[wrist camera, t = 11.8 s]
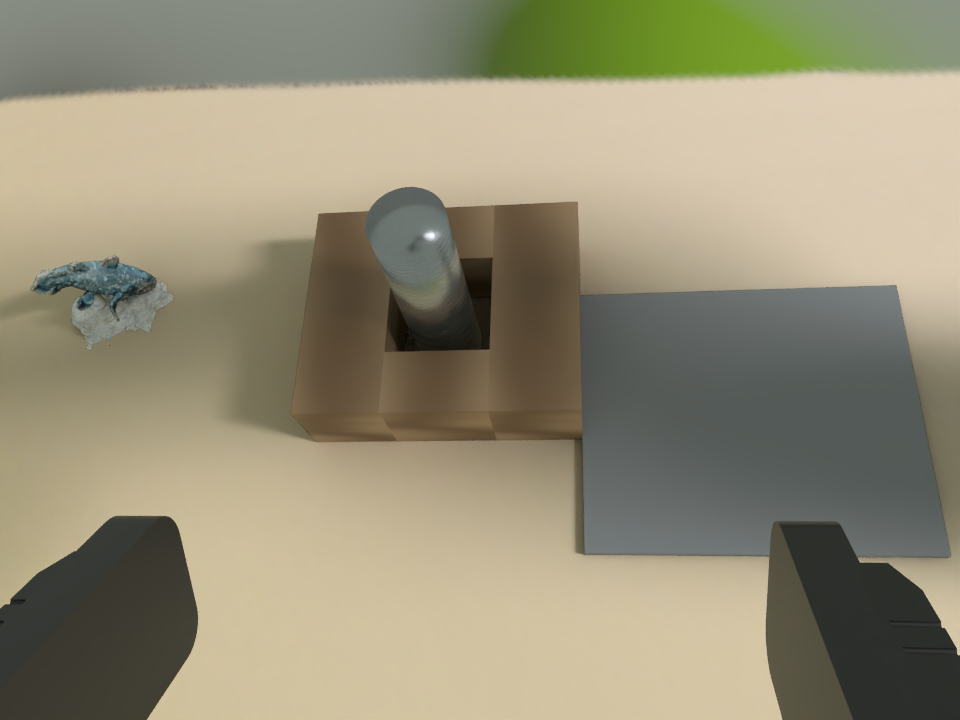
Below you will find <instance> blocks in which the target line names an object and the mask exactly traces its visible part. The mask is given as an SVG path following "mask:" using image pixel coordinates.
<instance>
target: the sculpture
mask: <svg viewBox="0 0 960 720" xmlns="http://www.w3.org/2000/svg"><path fill="white" fill-rule="evenodd" d="M118 263H119V258H118V257H117V256H115V255H114V256H111V257H107V258H106V259H105V260H103V261H89V262H80V263H79V262H74V263H73V262H72V263H70V265H66V266H65V265H64V266H62V267H59V268H56V269H53V270H49V269H48V270H47V269H46V270H42V271H41V272H40V274H38V275H37V277H36V279H35V282H34V283H33V286H31V287H30V290H31V291H36V292H37V293H40V294H41V293H42V294H43V293H44V294H45V292H47V291H49V290H50V289H51V290H50V295H54V294H56V293H57V292H59V291H60V290H61V289H62V288H65V287H69V286H73V287H75V288H79V289H82V290H86V291H87V292H85V293H84V295H83V296H80V297H79V298H77V299H76V300H75V302H74V303H73V306H72V308H71V312H72V313H71V314H72V315H71V320H72V323H73V326H75V327H76V328H78V329H80V330H81V333H82V334H84V339H85V341H86V342H87V344H91V345H88V346H87V348H86V349H89V350H90V349H92V344H95V343H96V344H97V343H98V342H99V341H101V340H103V339H106V340H107V339H109V340H110V338H112V337H113V336H114V335H118V333H119V332H121V331H123V330H124V329H125V328H126V327H127V329H126V331H128V329H132V330H133V331H134V330H135V331H136V330H137V328H141V329H142V330H145V332H147V333H148V332H150V331H151V324H152V323H151V322H153V320H154V319H155V313H154V312H155V311H156V309H157V310H158V309H159V307H160V308H163V307H164V306H165V305H167V304H168V303H169V302H170V301H171V300H172V299H174V298H173V296H172V294H170V293H169V294H168V293H167V289H166V286H167V285H166V284H163V283H162V281H160V280H158V281H157V280H156V278H154V277H153V276H151V275H150V274H148V273H147V272H146V271H143V270H139V268H137V267H132V266H129V265H124V264H120V263H119V264H118ZM134 325H136V327H134ZM132 330H131V331H132ZM109 346H110V345H109Z"/></svg>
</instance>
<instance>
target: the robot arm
mask: <svg viewBox="0 0 960 720" xmlns="http://www.w3.org/2000/svg"><path fill="white" fill-rule="evenodd" d="M197 626H198V612H197V606H196V602H195V597H194V593H193V589H192V584H191V580H190V576H189V571H188V567H187V563H186V558H185V554H184V550H183V546H182V541H181V537H180V533H179V530H178V527H177V525H176V523H175V522H174V520H172V519H171V518H170V517H167V516H115V517H112V518H110V519H109V520H108V521H107V522H105V523H104V524H103V525H102V526H101V527H100V528H99V529H98V530H97V531H96V532H95V533H94V534H93V535H92V536H91V537H90V538H89V539H88V540H87V541H86V542H85V543H84V544H83V545H82V546H81V547H80V548H79V549H78V550H77V551H74V552H73V553H71V554H69V555H68V556H66V557H64V558H63V559H61V560H59V561H58V562H56V563H54V564H53V565H51V566H49V567H48V568H46V569H44V570H43V571H41V572H39V573H38V574H36V575H35V576H34V577H33V578H32V579H31V580H30V581H29V582H28V583H27V584H26V585H25V586H24V587H23V588H22V589H21V590H20V591H19V592H18V593H17V594H15V595H14V596H13V597H12V598H11V602H10V604H5V605H4V606H3V607H2V608H1V609H0V720H147V718H148V717H149V715H150V714H151V712H152V711H153V709H154V708H155V706H156V705H157V703H158V702H159V700H160V699H161V697H162V696H163V694H164V693H165V691H166V690H167V688H168V687H169V685H170V684H171V682H172V681H173V679H174V678H175V676H176V675H177V673H178V672H179V670H180V669H181V667H182V666H183V664H184V663H185V661H186V660H187V658H188V656H189V655H190V653H191V650H192V648H193V645H194V642H195V638H196V634H197ZM766 646H767V656H768V663H769V669H770V674H771V678H772V682H773V686H774V689H775V693H776V697H777V700H778V704H779V708H780V711H781V715H782V719H783V720H960V655H957V648H956V646H955V645H954V643H953V641H952V640H951V638H950V636H949V634H948V633H947V631H946V629H945V628H942V627H941V621H940V619H939V618H938V616H937V614H936V612H935V611H934V609H933V607H932V606H931V604H930V602H929V601H928V599H927V597H926V596H925V594H924V592H923V590H921V589H920V588H919V587H918V586H916V585H915V584H914V583H913V582H911V581H910V580H909V579H907V578H906V577H905V576H904V575H902V574H901V573H900V572H899V571H897V570H896V569H895V568H893V567H892V566H891V565H890V564H888V563H860V562H859V560H858V558H857V556H856V554H855V552H854V550H853V548H852V546H851V544H850V542H849V540H848V538H847V536H846V534H845V532H844V530H843V528H842V527H841V525H840V524H839V523H838V522H836V521H775V522H774V523H773V526H772V531H771V540H770V558H769V576H768V594H767V612H766Z"/></svg>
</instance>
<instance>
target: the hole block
mask: <svg viewBox="0 0 960 720" xmlns="http://www.w3.org/2000/svg"><path fill="white" fill-rule="evenodd" d="M445 210H446V213H447V216H448V220H449V223H450V227H451V230H452V234H453V237H454V241H455V244H456V248H457V251H458V255H459V258H460V262H461V265H462V269H463V272H464V276H465V279H466V283H467V286H468V290H469V293H470V297H491V322H490V350H449V351H406V352H404V350H405V337H406V325H407V323H406V321H405V319H404V317H403V314H402V312H401V310H400V308H399V306H398V303H397V301H396V299H395V297H394V295H393V293H392V290H391V288H390V286H389V284H388V282H387V279H386V277H385V275H384V273H383V271H382V268H381V266H380V264H379V262H378V260H377V257H376V255H375V253H374V251H373V249H372V246H371V244H370V242H369V240H368V238H367V235H366V231H365V222H366V218H367V215H368V212H369V211H366V212H345V213H323V214H319V215H318V223H317V230H316V237H315V244H314V251H313V258H312V265H311V273H310V280H309V287H308V294H307V301H306V308H305V315H304V323H303V330H302V337H301V344H300V351H299V358H298V365H297V373H296V380H295V387H294V394H293V401H292V408H291V415H292V416H293V417H294V418H295V419H296V420H297V421H298V422H299V423H300V424H301V426H302V427H303V428H304V429H305V430H306V431H307V432H308V433H309V434H310V435H311V437H312V438H313V439H314V440H315V441H316V442H348V441H453V440H558V439H582V383H581V327H580V268H579V228H578V202H561V203H539V204H518V205H496V206H474V207H453V208H445Z"/></svg>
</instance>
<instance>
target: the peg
mask: <svg viewBox="0 0 960 720" xmlns="http://www.w3.org/2000/svg"><path fill="white" fill-rule="evenodd" d="M365 231H366V235H367V238H368V240H369V242H370V244H371V246H372V249H373V251H374V253H375V255H376V257H377V260H378V262H379V264H380V266H381V268H382V271H383V273H384V275H385V277H386V279H387V282H388V284H389V286H390V288H391V290H392V293H393V295H394V297H395V299H396V301H397V303H398V306H399V308H400V310H401V312H402V314H403V317H404V319H405V321H406V323H407V325H408V328H409V330H410V332H411V334H412V336H413V339H414V341H415V343H416V345H417V347H418V350H419V351H449V350H480V349H481V345H482V336H481V332H480V328H479V325H478V321H477V318H476V314H475V311H474V307H473V304H472V300H471V297H470V293H469V290H468V286H467V283H466V279H465V276H464V272H463V269H462V265H461V262H460V258H459V255H458V251H457V248H456V244H455V241H454V237H453V234H452V230H451V227H450V223H449V220H448V216H447V213H446V210H445V207H444V205H443V203H442V201H441V200H440V199H439V198H438V197H437V196H436V195H435V194H433V193H432V192H430V191H428V190H425V189H422V188H416V187H405V188H400V189H396V190H393V191H391V192H389V193H387V194H385V195H384V196H382V197H381V198H379V199H378V200H377V201H376V202H375V203H374V205H373V206H372V207H371V209H370V210H369V212H368V215H367V218H366V222H365Z"/></svg>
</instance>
